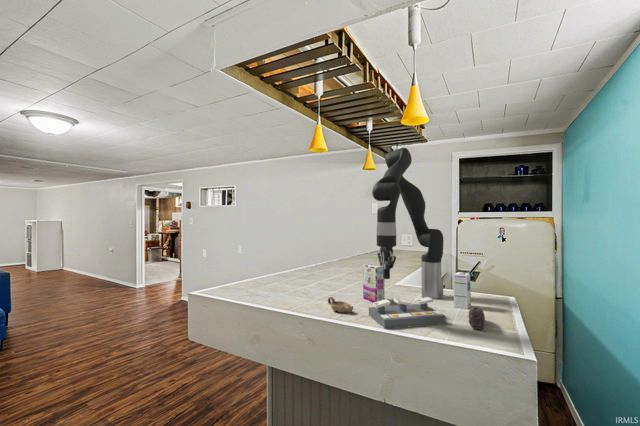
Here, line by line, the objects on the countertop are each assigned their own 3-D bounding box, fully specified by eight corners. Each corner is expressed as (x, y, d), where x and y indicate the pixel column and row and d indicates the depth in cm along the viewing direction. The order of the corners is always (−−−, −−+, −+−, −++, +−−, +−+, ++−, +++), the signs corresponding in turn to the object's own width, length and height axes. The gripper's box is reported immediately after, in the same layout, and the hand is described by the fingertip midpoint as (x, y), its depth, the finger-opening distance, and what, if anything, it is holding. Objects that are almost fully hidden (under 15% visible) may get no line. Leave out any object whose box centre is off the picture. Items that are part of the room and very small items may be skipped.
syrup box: (467, 309, 136) (467, 275, 136) (453, 306, 140) (453, 273, 140) (471, 306, 141) (470, 273, 141) (456, 303, 144) (456, 271, 144)
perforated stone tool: (469, 318, 125) (469, 300, 125) (484, 320, 122) (484, 302, 122) (468, 331, 111) (467, 311, 111) (485, 333, 109) (484, 313, 109)
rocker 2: (428, 299, 130) (427, 296, 130) (433, 301, 127) (432, 299, 127) (414, 302, 129) (414, 299, 129) (419, 304, 125) (419, 302, 125)
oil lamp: (357, 312, 133) (357, 300, 133) (345, 316, 128) (345, 304, 128) (335, 306, 142) (335, 294, 143) (322, 309, 137) (322, 297, 137)
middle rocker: (407, 303, 128) (407, 300, 128) (411, 305, 125) (412, 303, 125) (393, 301, 127) (394, 298, 127) (397, 303, 124) (398, 300, 124)
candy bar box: (385, 302, 147) (385, 266, 147) (376, 304, 145) (375, 267, 145) (371, 297, 157) (371, 263, 157) (362, 298, 155) (362, 264, 155)
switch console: (422, 310, 134) (422, 298, 134) (445, 323, 119) (445, 309, 119) (368, 314, 129) (368, 302, 129) (384, 328, 114) (384, 314, 114)
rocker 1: (386, 301, 126) (386, 298, 126) (390, 303, 123) (390, 301, 123) (372, 305, 125) (372, 302, 125) (376, 308, 122) (375, 305, 122)
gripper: (403, 235, 119) (403, 281, 119) (388, 233, 132) (388, 275, 132) (384, 235, 117) (384, 282, 117) (371, 233, 130) (371, 275, 130)
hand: (386, 278), depth 125 cm, fingers closed
